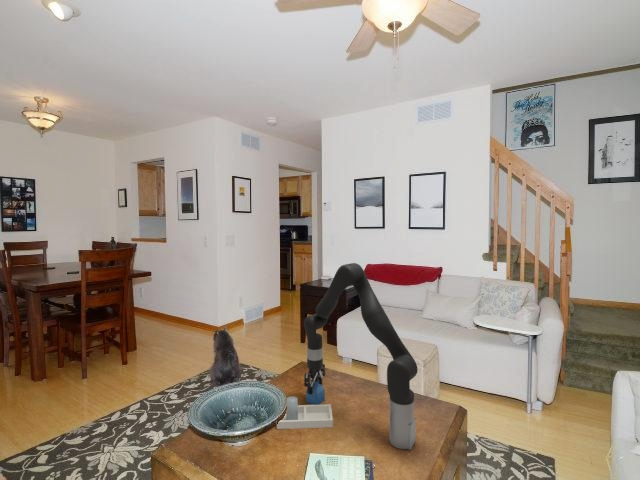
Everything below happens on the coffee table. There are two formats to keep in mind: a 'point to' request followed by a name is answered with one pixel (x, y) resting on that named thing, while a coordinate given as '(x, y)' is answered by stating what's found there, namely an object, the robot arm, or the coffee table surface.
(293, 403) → the grey rounded cylinder
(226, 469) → the coffee table surface
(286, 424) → the tray
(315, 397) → the perfume bottle
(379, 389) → the coffee table surface
